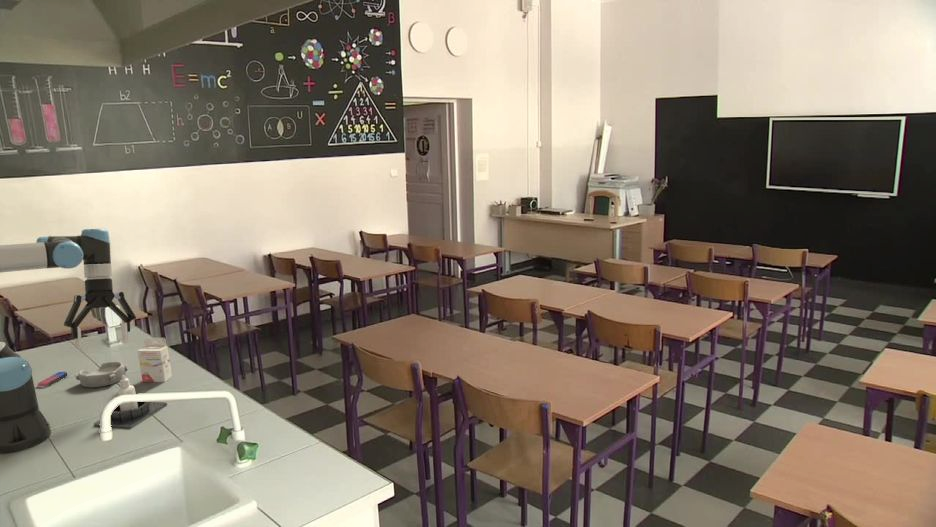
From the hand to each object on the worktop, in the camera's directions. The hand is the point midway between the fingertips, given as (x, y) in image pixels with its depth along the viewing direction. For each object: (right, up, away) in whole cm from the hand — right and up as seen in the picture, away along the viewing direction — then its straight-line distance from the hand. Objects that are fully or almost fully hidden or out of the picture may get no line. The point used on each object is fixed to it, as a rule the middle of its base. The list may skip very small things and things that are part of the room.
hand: (102, 345), depth 206 cm
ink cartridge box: (+6, -15, +23) cm, 29 cm away
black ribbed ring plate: (+11, -21, -5) cm, 24 cm away
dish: (-13, -16, +25) cm, 32 cm away
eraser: (-32, -17, +27) cm, 45 cm away
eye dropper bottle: (+11, -20, -5) cm, 23 cm away
